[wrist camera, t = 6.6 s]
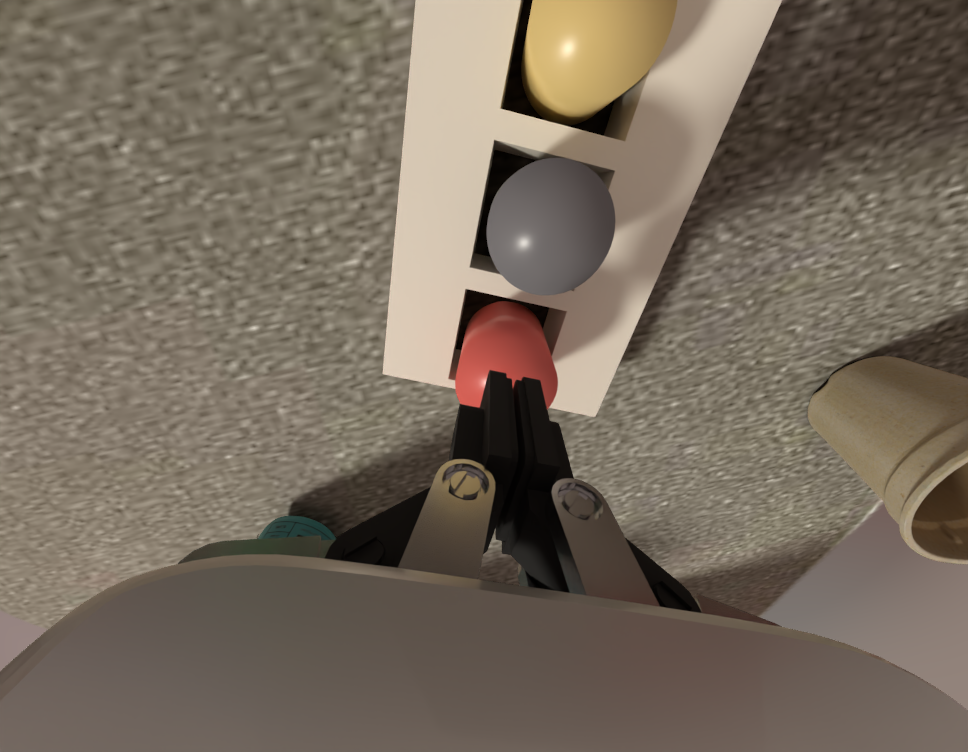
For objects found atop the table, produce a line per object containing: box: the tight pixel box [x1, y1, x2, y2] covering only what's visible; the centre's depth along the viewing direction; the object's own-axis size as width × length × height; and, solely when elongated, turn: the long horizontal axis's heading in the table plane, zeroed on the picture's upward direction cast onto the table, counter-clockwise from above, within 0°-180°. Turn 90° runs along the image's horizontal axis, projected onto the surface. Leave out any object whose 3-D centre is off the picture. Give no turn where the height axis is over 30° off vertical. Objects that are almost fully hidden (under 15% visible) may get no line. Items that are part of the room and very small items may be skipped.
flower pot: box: [808, 356, 968, 564], centre depth 19 cm, size 9×9×9 cm
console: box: [383, 0, 782, 417], centre depth 17 cm, size 12×18×4 cm, turn 168°
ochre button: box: [521, 0, 677, 125], centre depth 12 cm, size 4×4×5 cm
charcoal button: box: [487, 158, 615, 295], centre depth 14 cm, size 4×4×5 cm
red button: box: [455, 301, 558, 409], centre depth 17 cm, size 4×4×5 cm
